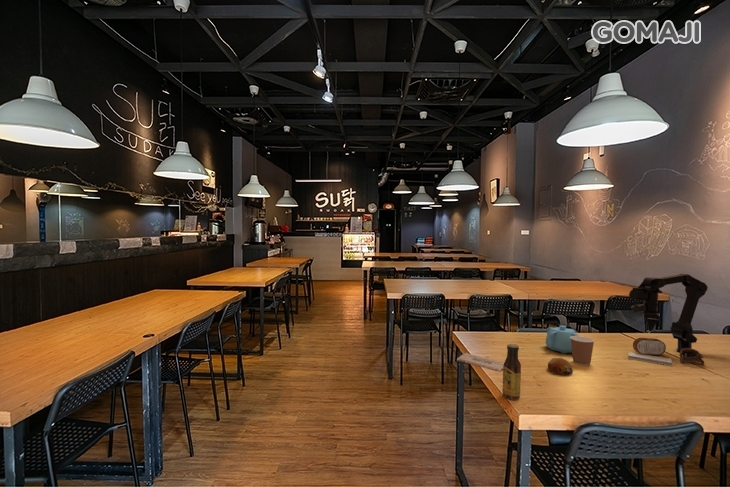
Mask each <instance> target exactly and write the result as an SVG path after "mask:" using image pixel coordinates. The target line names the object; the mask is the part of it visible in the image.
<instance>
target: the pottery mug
mask: <svg viewBox="0 0 730 487" xmlns="http://www.w3.org/2000/svg"><path fill="white" fill-rule="evenodd" d="M689 352H691V353H689ZM679 362H680V363H681V364H683V363H689V364H690V363H700V364H702V366H703V365H705V361H704V356H703V355H702V353H700V352H699V351H698V350H696V349H694V348H692V349H691V348H686V349H685V348H681V349H680V352H679Z"/></svg>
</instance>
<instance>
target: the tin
mask: <svg viewBox="0 0 730 487" xmlns="http://www.w3.org/2000/svg"><path fill="white" fill-rule="evenodd" d="M666 348H667V346H666V343H665V342H663V341H662V340H660V339H658V338H652V337H638V338H636V339H635V340H633V343H632V349H633V350H634V351H635V353H636V352H637V353H638V354H644V355H650V356H661V355H663V354H664V353H665V352H666V350H667V349H666Z"/></svg>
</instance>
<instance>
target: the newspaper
mask: <svg viewBox="0 0 730 487" xmlns="http://www.w3.org/2000/svg"><path fill="white" fill-rule="evenodd" d="M456 361H459V362H462V363H467V364H470V365H474V366H478V367H481V368H486V369H488V370H492V371H497V372H501V371H503V365H504V362H505V361H504V362H503V361H498V360H494V359H491V358H486V357H482V356H479V355H474V354H471V353H466V352H465V353H463V354H461V355H460V356H458V357H457V359H456Z"/></svg>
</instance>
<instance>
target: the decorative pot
mask: <svg viewBox="0 0 730 487" xmlns="http://www.w3.org/2000/svg"><path fill="white" fill-rule="evenodd" d="M571 336H580V335H579V334H578V333H577V332H576V331H575V330H574V329H572V328H567V326H566V325H559V327H555V326H554V327H552V326H550V327H547V328H546V337H545V342H544V343H545V345H546V347H547V348H549V349H550V350H551V351H557V352H560V353H561V354H563V355H567V353H568V354H569V353H570V354H571V353H572V347H571V339H570V337H571Z"/></svg>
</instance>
